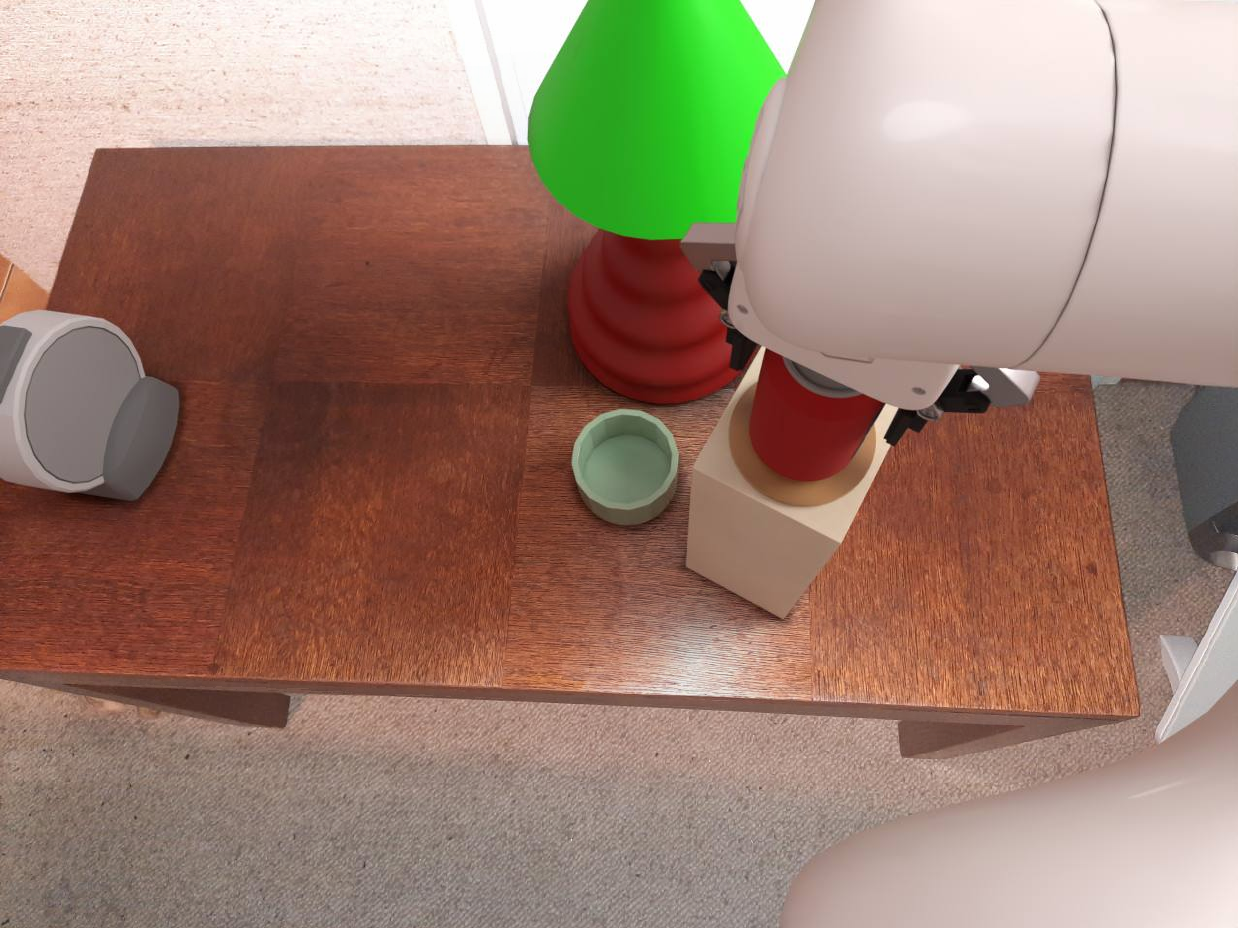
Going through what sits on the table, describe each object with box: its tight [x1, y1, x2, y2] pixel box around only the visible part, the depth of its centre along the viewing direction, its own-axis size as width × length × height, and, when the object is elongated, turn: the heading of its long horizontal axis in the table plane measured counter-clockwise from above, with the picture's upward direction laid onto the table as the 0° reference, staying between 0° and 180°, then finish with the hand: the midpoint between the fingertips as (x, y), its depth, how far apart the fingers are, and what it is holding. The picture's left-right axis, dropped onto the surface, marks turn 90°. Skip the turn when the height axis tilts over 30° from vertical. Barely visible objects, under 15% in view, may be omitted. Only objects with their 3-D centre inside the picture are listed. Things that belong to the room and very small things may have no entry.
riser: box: [685, 345, 898, 620], centre depth 66 cm, size 10×10×28 cm
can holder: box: [570, 408, 680, 526], centre depth 80 cm, size 10×10×6 cm
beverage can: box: [749, 348, 886, 482], centre depth 47 cm, size 7×7×12 cm
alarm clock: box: [0, 309, 180, 502], centre depth 78 cm, size 16×10×18 cm, turn 170°
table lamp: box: [526, 0, 787, 405], centre depth 67 cm, size 20×20×45 cm
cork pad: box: [729, 381, 877, 507], centre depth 53 cm, size 9×9×1 cm
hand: (822, 383), depth 46 cm, fingers open, 8 cm apart
